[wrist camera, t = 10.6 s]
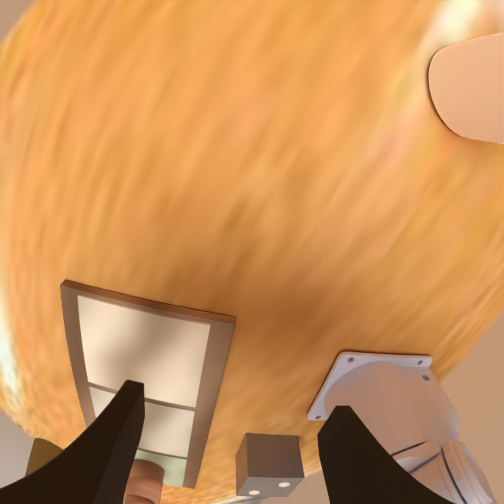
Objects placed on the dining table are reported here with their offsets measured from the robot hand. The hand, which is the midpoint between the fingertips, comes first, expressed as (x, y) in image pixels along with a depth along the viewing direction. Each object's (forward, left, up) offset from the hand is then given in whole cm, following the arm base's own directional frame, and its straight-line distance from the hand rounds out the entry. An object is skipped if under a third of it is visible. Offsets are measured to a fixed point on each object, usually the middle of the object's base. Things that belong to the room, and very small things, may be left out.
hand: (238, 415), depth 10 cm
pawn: (+6, +24, -8) cm, 26 cm away
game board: (+6, +15, -9) cm, 19 cm away
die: (-6, +17, -10) cm, 21 cm away
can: (-11, -17, -10) cm, 22 cm away
